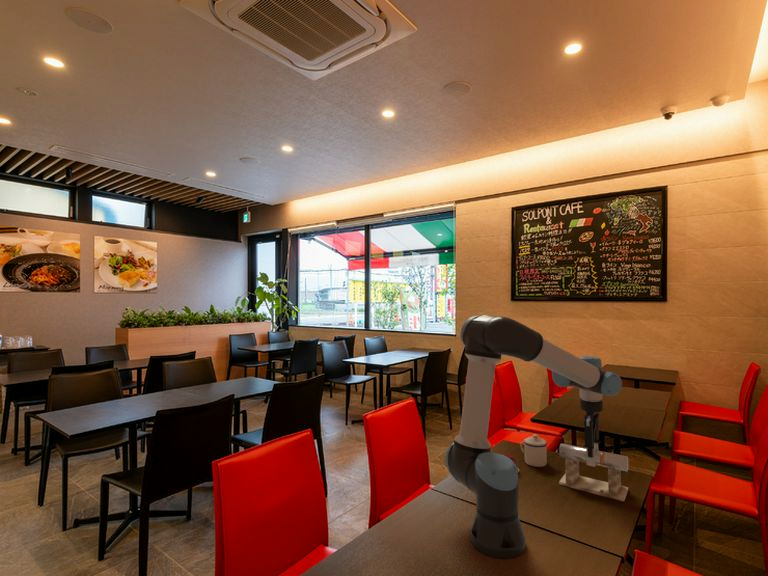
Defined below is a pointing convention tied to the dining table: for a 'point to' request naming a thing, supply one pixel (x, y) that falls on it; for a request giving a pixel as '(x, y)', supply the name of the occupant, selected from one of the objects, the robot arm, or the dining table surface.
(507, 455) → the apple
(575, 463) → the collar stand
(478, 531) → the robot arm
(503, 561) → the dining table surface
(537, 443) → the teacup with lid
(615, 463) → the steel tube
